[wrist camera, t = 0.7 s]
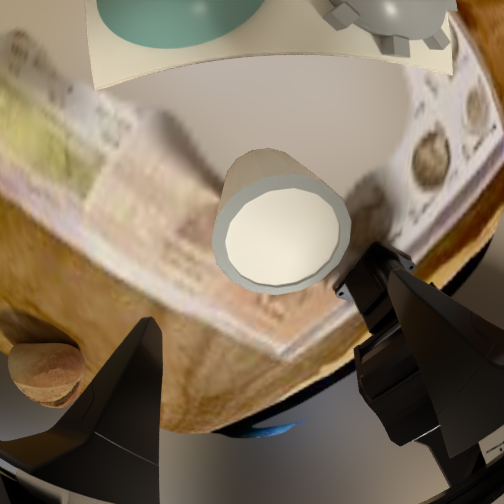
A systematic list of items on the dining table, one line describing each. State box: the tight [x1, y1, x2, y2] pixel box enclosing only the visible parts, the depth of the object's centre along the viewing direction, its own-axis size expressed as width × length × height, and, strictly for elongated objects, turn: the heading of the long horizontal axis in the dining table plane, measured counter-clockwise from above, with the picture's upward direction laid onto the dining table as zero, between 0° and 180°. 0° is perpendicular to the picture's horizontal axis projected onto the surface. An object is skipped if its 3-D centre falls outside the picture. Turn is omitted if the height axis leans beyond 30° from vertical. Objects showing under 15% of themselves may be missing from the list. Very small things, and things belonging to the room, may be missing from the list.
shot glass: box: [211, 148, 351, 295], centre depth 16 cm, size 7×7×7 cm
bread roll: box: [8, 343, 86, 408], centre depth 25 cm, size 10×15×8 cm, turn 106°
